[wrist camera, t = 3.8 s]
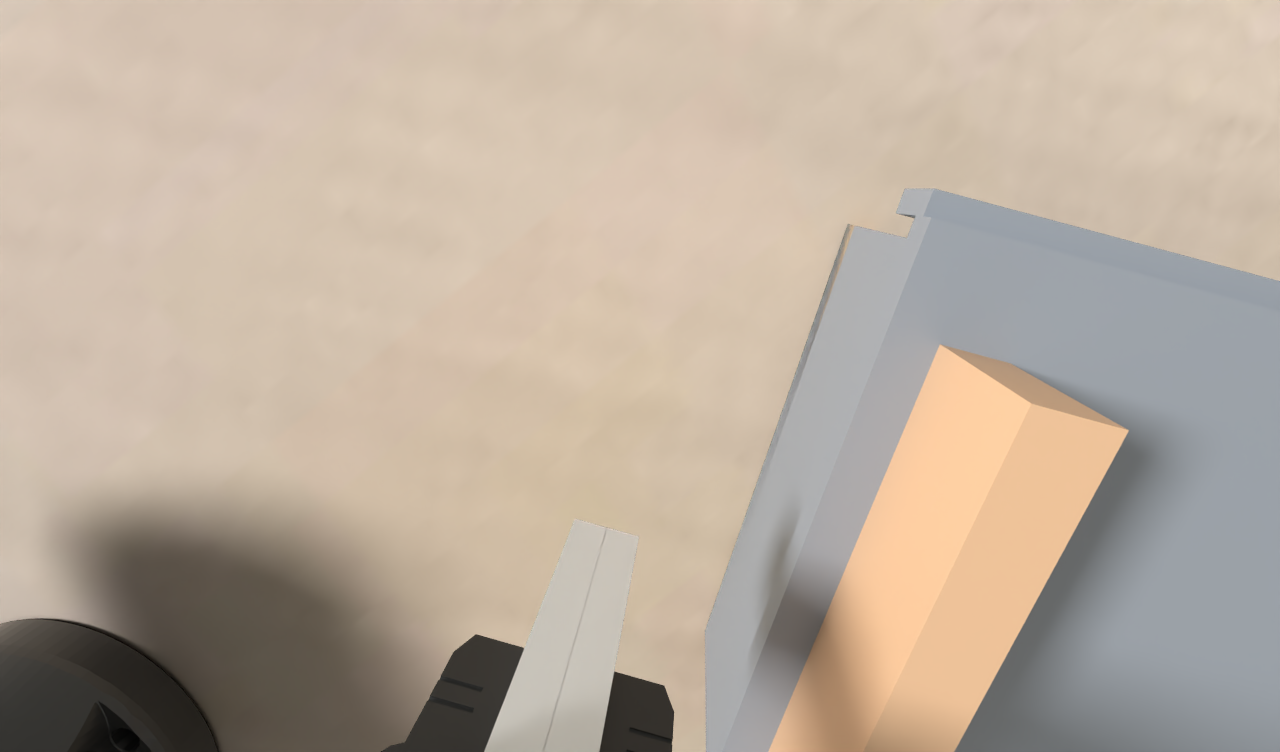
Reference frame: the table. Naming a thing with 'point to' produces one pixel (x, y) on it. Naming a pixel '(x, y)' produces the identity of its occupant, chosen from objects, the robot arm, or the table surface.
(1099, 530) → the lid
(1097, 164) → the table surface
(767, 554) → the open gray box
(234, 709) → the table surface
